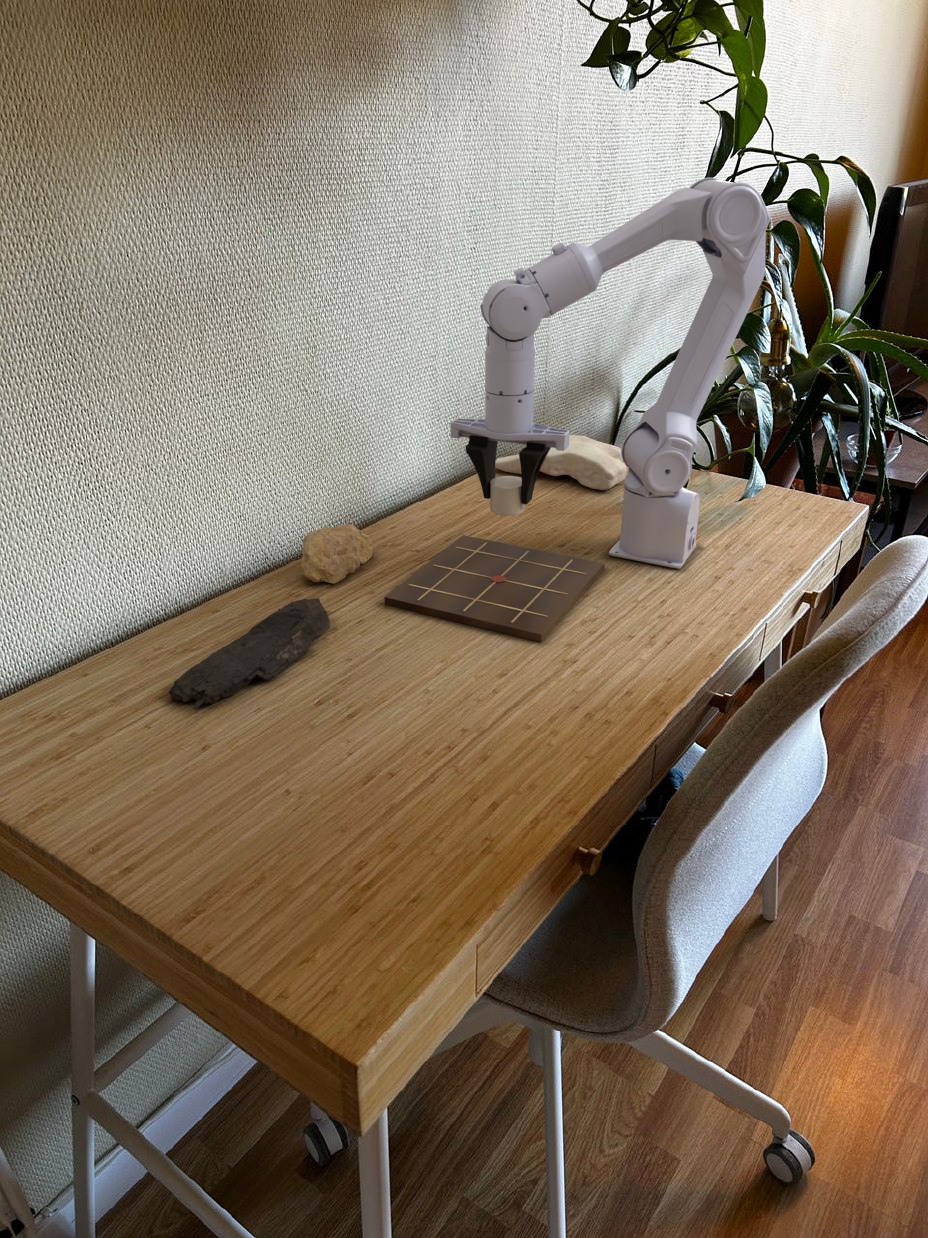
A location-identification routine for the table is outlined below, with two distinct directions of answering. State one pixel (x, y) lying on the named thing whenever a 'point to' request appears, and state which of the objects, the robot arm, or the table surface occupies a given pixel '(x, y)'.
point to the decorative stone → (578, 463)
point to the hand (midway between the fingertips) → (508, 498)
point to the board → (497, 587)
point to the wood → (254, 654)
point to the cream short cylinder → (506, 496)
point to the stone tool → (334, 553)
